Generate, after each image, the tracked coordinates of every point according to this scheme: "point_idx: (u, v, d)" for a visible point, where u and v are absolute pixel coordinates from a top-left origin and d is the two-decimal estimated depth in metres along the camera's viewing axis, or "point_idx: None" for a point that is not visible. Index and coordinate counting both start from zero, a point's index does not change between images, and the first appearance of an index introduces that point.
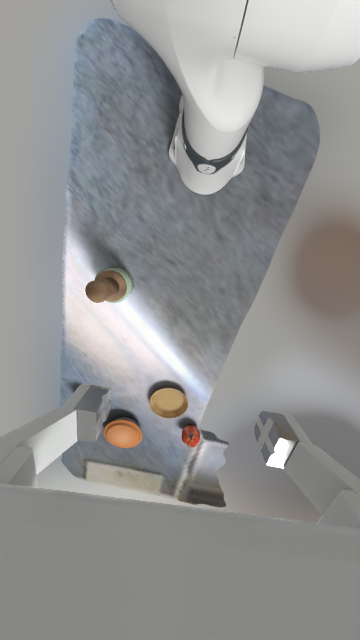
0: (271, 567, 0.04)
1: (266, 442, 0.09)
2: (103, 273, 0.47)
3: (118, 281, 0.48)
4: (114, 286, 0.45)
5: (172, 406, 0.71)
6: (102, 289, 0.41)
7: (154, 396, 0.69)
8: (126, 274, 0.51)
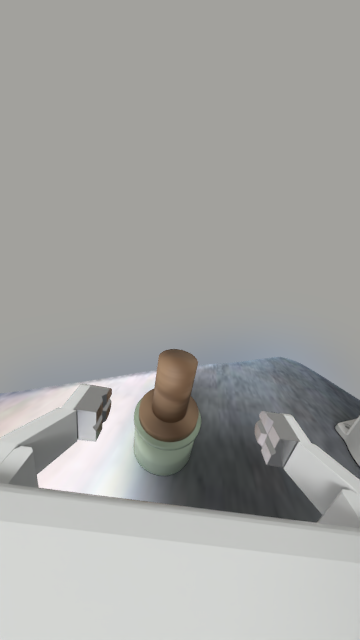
0: (271, 567, 0.04)
1: (266, 442, 0.09)
2: None
3: (187, 415, 0.25)
4: (186, 401, 0.23)
5: None
6: (190, 364, 0.22)
7: None
8: None
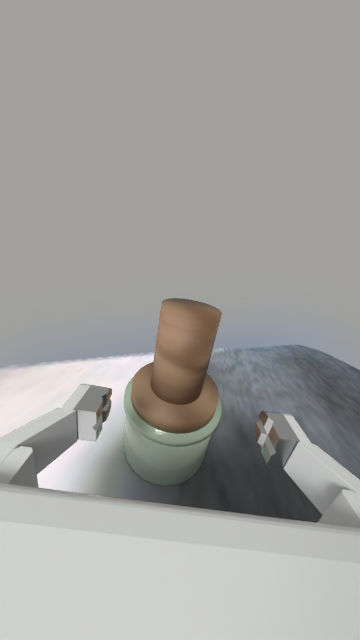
0: (271, 567, 0.04)
1: (266, 442, 0.09)
2: None
3: (203, 396, 0.17)
4: (203, 371, 0.15)
5: None
6: (210, 312, 0.14)
7: None
8: None
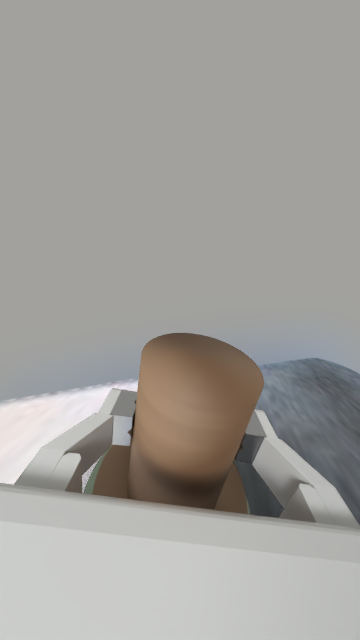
0: (271, 567, 0.04)
1: None
2: None
3: (221, 507, 0.09)
4: (224, 481, 0.08)
5: None
6: (241, 375, 0.07)
7: None
8: None
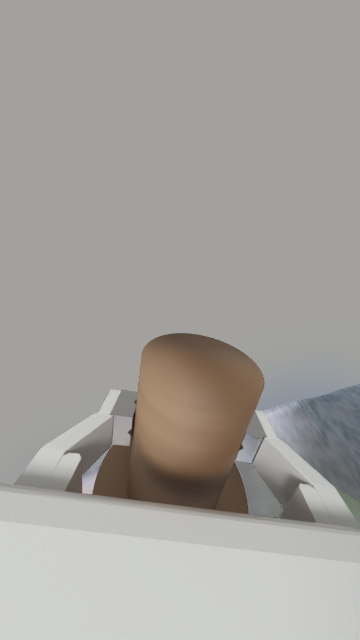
0: (271, 567, 0.04)
1: None
2: None
3: (221, 507, 0.09)
4: (225, 482, 0.08)
5: None
6: (242, 375, 0.07)
7: None
8: None
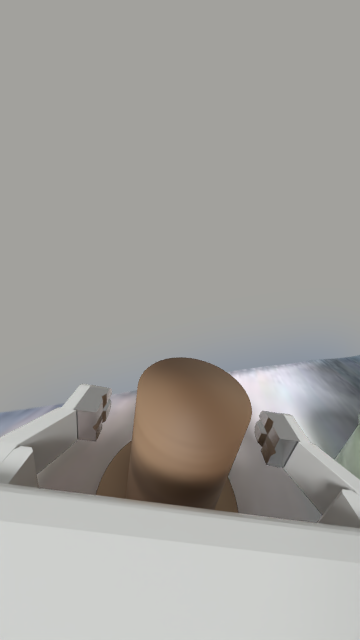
0: (271, 567, 0.04)
1: (266, 442, 0.09)
2: None
3: None
4: (216, 503, 0.08)
5: None
6: (231, 406, 0.07)
7: None
8: None
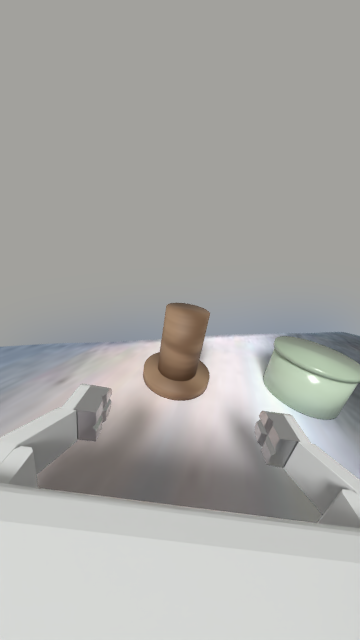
0: (271, 567, 0.04)
1: (266, 442, 0.09)
2: None
3: (197, 376, 0.22)
4: (197, 356, 0.21)
5: None
6: (201, 313, 0.20)
7: None
8: None
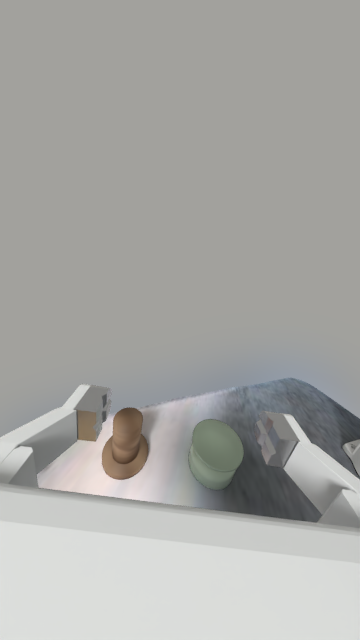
0: (271, 567, 0.04)
1: (266, 442, 0.09)
2: None
3: (138, 457, 0.33)
4: (135, 448, 0.32)
5: None
6: (135, 423, 0.31)
7: None
8: None
